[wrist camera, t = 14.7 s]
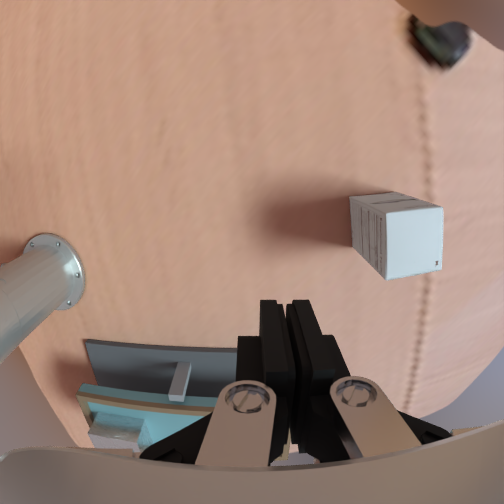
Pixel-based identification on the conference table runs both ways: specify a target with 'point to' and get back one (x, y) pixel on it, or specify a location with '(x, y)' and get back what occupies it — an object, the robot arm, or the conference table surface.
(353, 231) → the supplement box
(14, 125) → the conference table surface
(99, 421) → the steel block
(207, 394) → the stand
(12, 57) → the conference table surface
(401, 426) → the robot arm
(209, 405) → the beam
